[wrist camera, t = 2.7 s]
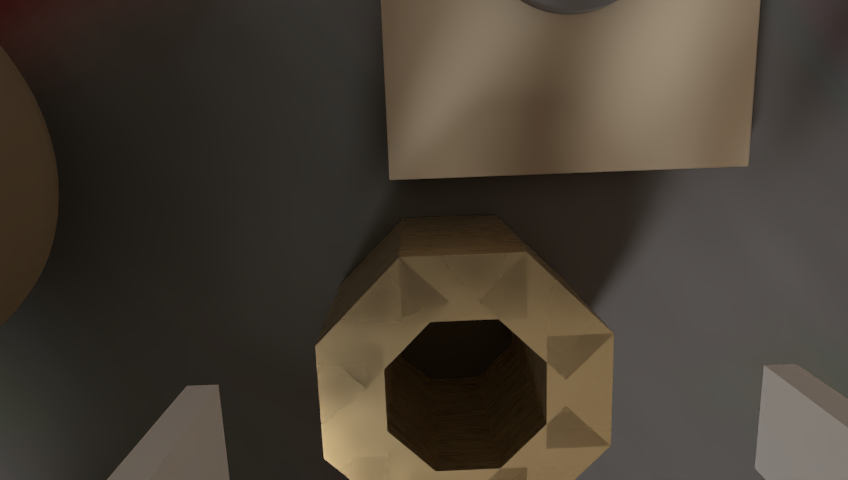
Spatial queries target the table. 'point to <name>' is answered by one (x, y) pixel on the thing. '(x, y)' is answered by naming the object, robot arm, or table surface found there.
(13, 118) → the bowl
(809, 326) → the table surface
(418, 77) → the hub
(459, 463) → the collar
